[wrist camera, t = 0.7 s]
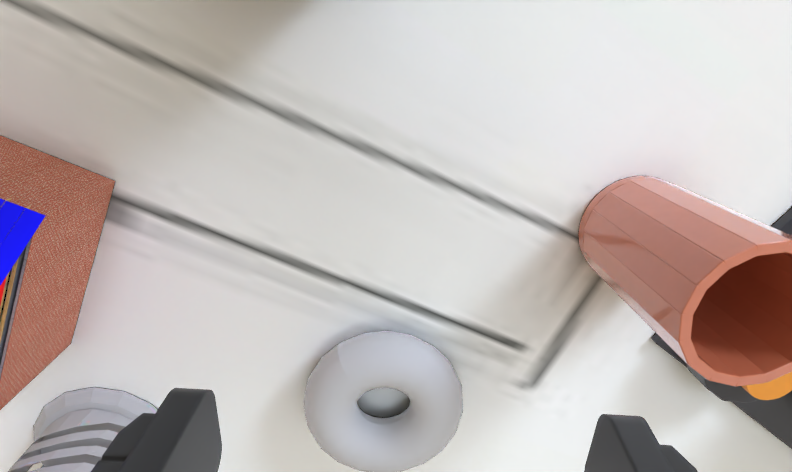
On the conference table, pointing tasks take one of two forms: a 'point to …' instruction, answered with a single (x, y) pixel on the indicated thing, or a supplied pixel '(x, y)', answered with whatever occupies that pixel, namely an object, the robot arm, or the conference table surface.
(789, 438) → the coffee maker base
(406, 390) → the donut
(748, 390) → the brew button
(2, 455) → the conference table surface
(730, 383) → the tumbler
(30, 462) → the french press
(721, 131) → the conference table surface
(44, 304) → the house
